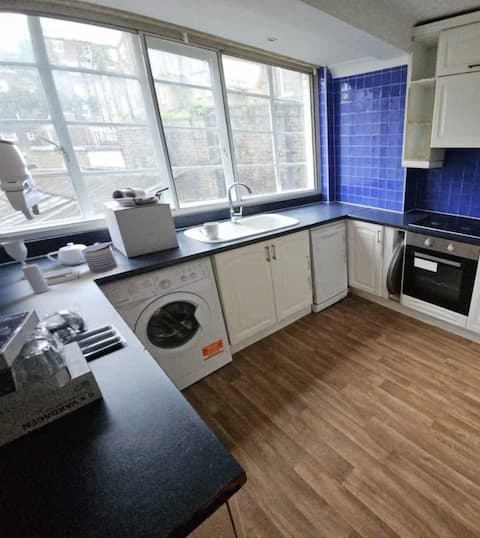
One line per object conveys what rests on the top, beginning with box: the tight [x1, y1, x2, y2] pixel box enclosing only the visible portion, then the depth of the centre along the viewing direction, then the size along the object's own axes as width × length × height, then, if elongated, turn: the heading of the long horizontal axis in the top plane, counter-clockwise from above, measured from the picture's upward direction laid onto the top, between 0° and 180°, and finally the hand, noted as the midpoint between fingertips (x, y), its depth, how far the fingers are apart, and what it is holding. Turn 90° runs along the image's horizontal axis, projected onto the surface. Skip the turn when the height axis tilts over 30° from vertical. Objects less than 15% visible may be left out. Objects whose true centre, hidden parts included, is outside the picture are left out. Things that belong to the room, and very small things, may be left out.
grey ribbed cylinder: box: [81, 242, 119, 274], centre depth 148 cm, size 11×11×12 cm
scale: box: [41, 266, 79, 286], centre depth 140 cm, size 13×12×3 cm
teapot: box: [46, 242, 101, 266], centre depth 158 cm, size 22×14×11 cm, turn 133°
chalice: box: [0, 238, 28, 280], centre depth 139 cm, size 7×7×18 cm
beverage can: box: [21, 263, 50, 294], centre depth 126 cm, size 5×5×12 cm
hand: (34, 216), depth 124 cm, fingers open, 8 cm apart
